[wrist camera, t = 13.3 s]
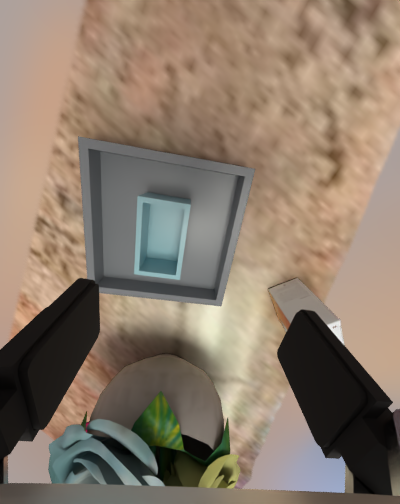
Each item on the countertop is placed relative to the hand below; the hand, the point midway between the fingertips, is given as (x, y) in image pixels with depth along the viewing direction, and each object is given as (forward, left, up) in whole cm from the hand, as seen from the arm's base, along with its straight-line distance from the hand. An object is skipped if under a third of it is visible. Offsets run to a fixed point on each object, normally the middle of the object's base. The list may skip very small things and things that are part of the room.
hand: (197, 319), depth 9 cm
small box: (+12, +19, -21) cm, 31 cm away
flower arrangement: (+32, -1, -21) cm, 38 cm away
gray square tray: (+2, -4, -21) cm, 22 cm away
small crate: (+2, -4, -20) cm, 21 cm away
